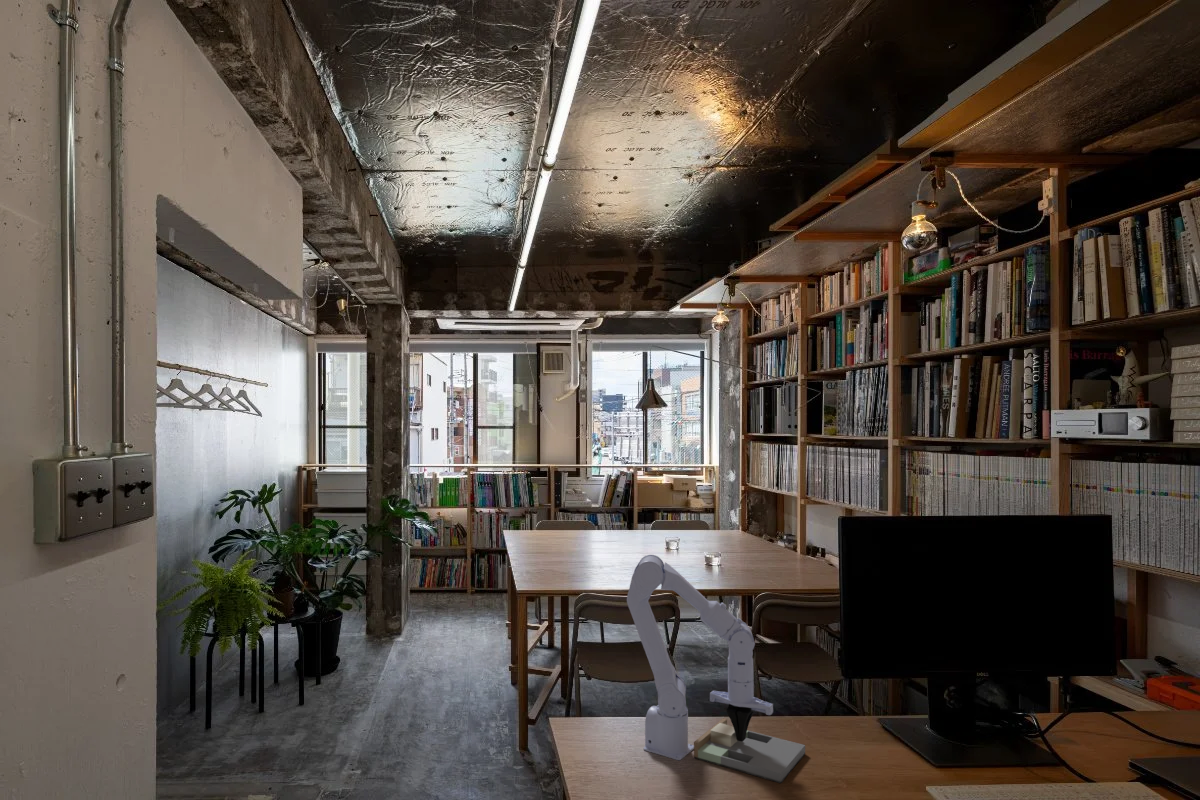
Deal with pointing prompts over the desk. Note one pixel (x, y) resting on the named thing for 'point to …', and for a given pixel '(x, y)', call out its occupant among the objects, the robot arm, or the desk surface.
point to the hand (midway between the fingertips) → (741, 739)
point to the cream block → (723, 734)
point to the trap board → (752, 754)
